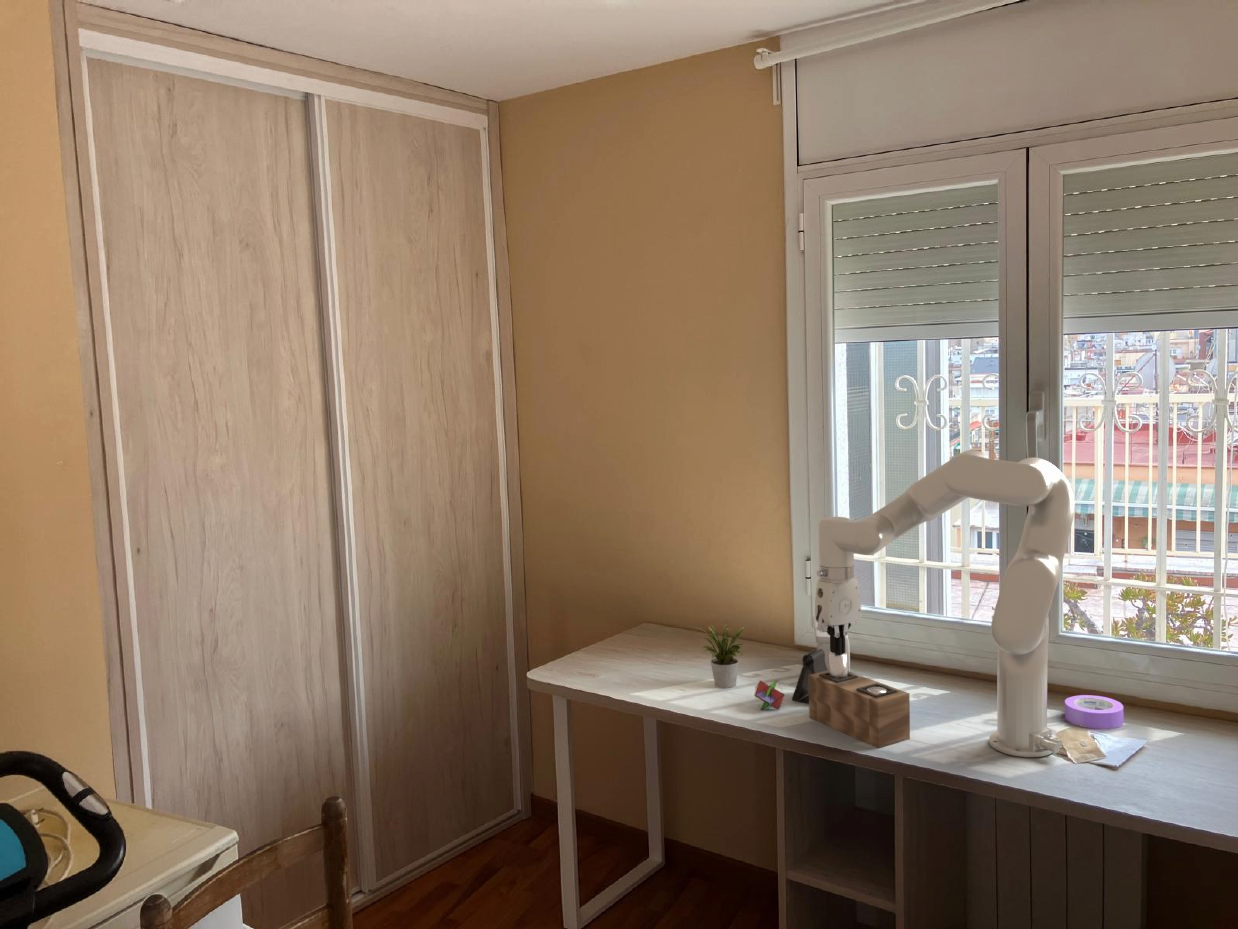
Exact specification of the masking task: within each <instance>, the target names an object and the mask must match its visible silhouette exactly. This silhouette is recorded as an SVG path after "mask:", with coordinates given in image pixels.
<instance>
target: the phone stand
mask: <svg viewBox="0 0 1238 929" xmlns="http://www.w3.org/2000/svg"><path fill="white" fill-rule="evenodd" d="M817 650H818V648H817V647H816V648H815V649H813V650H812V651H810V652H808V653H806V654H805V655H803V657H802V659H801V660H802V668H801V670H800V674H799V677H798V680H797V683H796V686H795V689H794V693H792V694H793V695H792V698H791V701H792V702H796V703H803V704H807V705H809V679H808V675H810V674H814V673H818V672H823V671H827V670H828V669H827V666H826V664H825V653H824V651H823V650H822V649H820V650H818V651H817Z"/></svg>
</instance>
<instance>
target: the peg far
mask: <svg viewBox="0 0 1238 929" xmlns="http://www.w3.org/2000/svg"><path fill="white" fill-rule="evenodd" d="M829 677H832V678H834V679H837V680H839V679H843V678H847V677H848V670H847V653H846V652H845V653H844V654H840V655H838V654H835V653H832V652H830V653H829Z"/></svg>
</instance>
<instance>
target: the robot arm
mask: <svg viewBox="0 0 1238 929" xmlns="http://www.w3.org/2000/svg"><path fill="white" fill-rule="evenodd" d="M989 457H990V456H988V455H987V454H986V453H983V452H982V451H980V450H977V449H969V450H965V451H962V452H960V453H959V454H957V455H954V457H952V458H951V459H950V460H948V461H946V462H945V463H943V464H942V465H940V466H939V467H938V468H936V469H934V470H933V471H931V472H930V473H928V474H926V475H925V476H923V477H922V478H920V479H918V480H917V481H915V482H914V483H913V484H911V485H910V486H909V487H907V489H906V490H905V491H904V492H903V493H902V494H901V495H899V496H898V497H896V498H895V499H894V500H892V501H891V502H889V503H888V504H886V505H885V506H883V507H881V508H880V509H878V510H877V511H875V512H874V513H872V514H870V515H868V516H866V517H864V518H863V519H861V520H857V521H852V520H851V519H850V518H849V517H845V516H844V517H843V516H828V517H827V516H825V517H824V518H822V519H820V520H819V523H818V550H819V551H818V553H819V554H818V556H819V558H818V559H819V562H818V563H819V570H817V571H816V575H817V577H818V578H819V579H817V583H816V589H815V597H814V616H815V618H816V621H817V622H818V626H817V629H818V630H821V631H826V632H827V634H828V635H830V651H831V652H832V653H835V654H838V655H840V654H844V653H845V636H846V635H848V632H849V629H850V628H851V627H852V626H853V625H855V624H857V623H858V621H859V620H861V617H862V604H861V593H860V592H861V591H860V587H859V586H860V585H859V583H858V579H857V577H856V576H855V565H854V564H855V554H858V555H862V556H863V555H864V556H871V555H874V554H876V553H879V552H880V551H881V550H882V549H884V548H886V547H887V546H888V545H890V544H892V543H893V542H894V541H895V540H897V539H899V538H900V537H902V536H903V535H905V534H906V533H908V532H910V531H912V530H914V529H915V528H917V527H918V526H920V525H921V524H924V523H926V522H930V521H933V520H935V519H937V518H938V517H940V516H941V515H943V514H945V513H946V512H948V511H949V510H951V509H953V508H954V507H955V506H958V505H959V504H960V503H962V502H964V501H965V500H967V499H968V498H970V499H974V500H975V499H976V500H980V501H986V502H992V503H996V504H997V503H998V504H1005V505H1009V506H1010V505H1011V506H1015V507H1016V506H1017V507H1028V510H1027V515H1026V518H1025V521H1024V526H1023V530H1022V534H1021V538H1020V542H1019V546H1018V548H1017V551H1016V553H1015V554H1014V556H1013V558H1012V559H1011V561H1010V563H1009V564H1008V565H1007V567H1006V569H1005V573H1004V575H1003V580H1002V583H1001V585H1000V588H999V589H1000V591H999V593H998V597H997V602H996V604H995V608H994V612H993V615H992V619H991V624H990V633H991V637H992V639H993V641H994V643H995V644H996V646H997V670H996V671H997V672H996V674H997V678H996V679H997V680H996V682H997V683H996V684H997V686H996V688H997V690H996V691H997V692H996V693H997V694H996V697H997V698H996V699H997V701H996V704H997V705H996V706H997V707H996V708H997V710H996V713H997V714H996V716H997V718H996V720H997V722H996V726H997V727H996V729H997V731H995V732H992V733H991V735H989V738H988V739H989V741H988V742H989V745H990V747H992V748H993V749H995V750H996V751H998V752H1000V753H1003V754H1006V755H1009V756H1015V757H1021V758H1041V757H1046V756H1049V755H1051V754H1052V753H1054V754H1057V753H1059V752H1060V750H1061V747H1062V745H1063V741H1062V740H1061V739H1058V738H1055V737H1053V736H1052V734H1053V733H1052V728H1050V727H1048V660H1049V659H1048V654H1049V651H1048V650H1049V635H1050V633H1049V632H1050V619H1049V613H1050V610H1051V607H1052V603H1053V599H1054V596H1055V593H1056V589H1057V587H1058V585H1059V582H1060V579H1061V572H1062V565H1063V561H1064V557H1065V553H1066V550H1067V547H1068V542H1069V537H1070V534H1071V530H1072V527H1073V526H1072V525H1073V521H1074V515H1075V497H1074V494H1073V490H1072V487H1071V484H1070V483H1069V480H1068V479H1067V478H1066V476H1065V475H1064V474H1063V472H1061V470H1060V469H1059V468H1057V467H1056V466H1055V465H1054V464H1052V463H1051V462H1050V461H1048V460H1045V459H1043V458H1040V457H1026V458H1024V459H1021V460H1019V461H1018V462H1016V461H1011V460H1010V461H1009V460H1001V459H995V458H989Z"/></svg>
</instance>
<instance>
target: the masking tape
mask: <svg viewBox="0 0 1238 929" xmlns="http://www.w3.org/2000/svg"><path fill="white" fill-rule="evenodd" d="M1064 718H1065V719H1066V721H1068V722H1070V723H1071V724H1073V725H1075V724H1076V725H1075V726H1078V725H1081V726H1080V727H1082V726H1086V727H1088V729H1094V730H1112V729H1119V728H1121V727H1122V726H1123V725H1124V705H1123V704H1122V702H1120V701H1118V700H1115V699H1114V698H1110V697H1106V696H1102V695H1101V696H1100V695H1091V694H1090V695H1089V694H1086V695H1085V694H1079V695H1074V696H1073V695H1072V696H1070V697H1067V698H1066V699H1065V700H1064ZM1086 727H1085V728H1086Z"/></svg>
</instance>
